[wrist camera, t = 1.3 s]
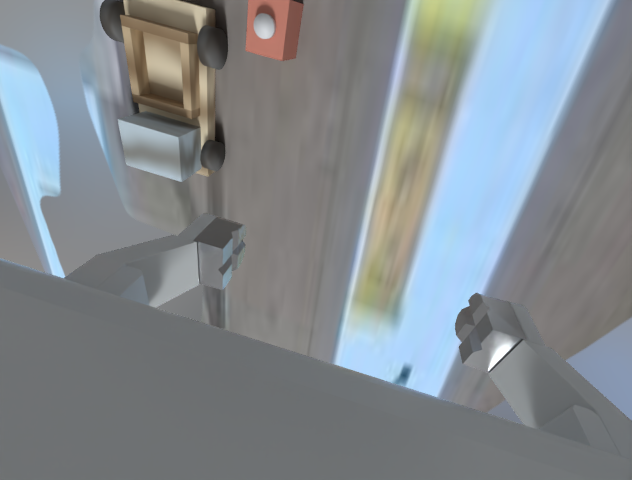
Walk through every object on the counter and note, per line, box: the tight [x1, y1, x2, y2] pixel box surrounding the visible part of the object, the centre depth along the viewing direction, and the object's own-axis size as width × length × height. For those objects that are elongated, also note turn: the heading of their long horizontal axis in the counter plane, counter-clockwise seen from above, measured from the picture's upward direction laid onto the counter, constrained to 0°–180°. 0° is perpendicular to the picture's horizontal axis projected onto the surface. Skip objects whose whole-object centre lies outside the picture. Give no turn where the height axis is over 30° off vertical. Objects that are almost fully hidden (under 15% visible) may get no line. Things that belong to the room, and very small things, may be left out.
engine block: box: [246, 0, 303, 61], centre depth 30 cm, size 5×4×6 cm
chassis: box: [100, 0, 228, 182], centre depth 37 cm, size 20×13×7 cm, turn 168°
